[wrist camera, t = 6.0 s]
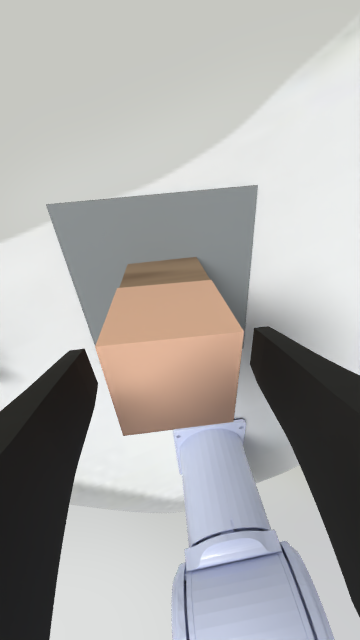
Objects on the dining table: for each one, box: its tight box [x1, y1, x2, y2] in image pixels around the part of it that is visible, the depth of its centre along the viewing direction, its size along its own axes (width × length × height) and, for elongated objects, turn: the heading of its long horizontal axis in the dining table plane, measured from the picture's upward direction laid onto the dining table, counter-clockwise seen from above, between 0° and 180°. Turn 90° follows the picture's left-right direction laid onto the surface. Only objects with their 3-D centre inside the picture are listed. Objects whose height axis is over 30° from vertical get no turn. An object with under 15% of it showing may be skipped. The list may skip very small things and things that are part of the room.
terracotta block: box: [95, 280, 244, 436], centre depth 10 cm, size 4×4×4 cm
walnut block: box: [119, 257, 210, 288], centre depth 14 cm, size 4×4×4 cm
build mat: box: [46, 185, 258, 348], centre depth 16 cm, size 12×12×1 cm
